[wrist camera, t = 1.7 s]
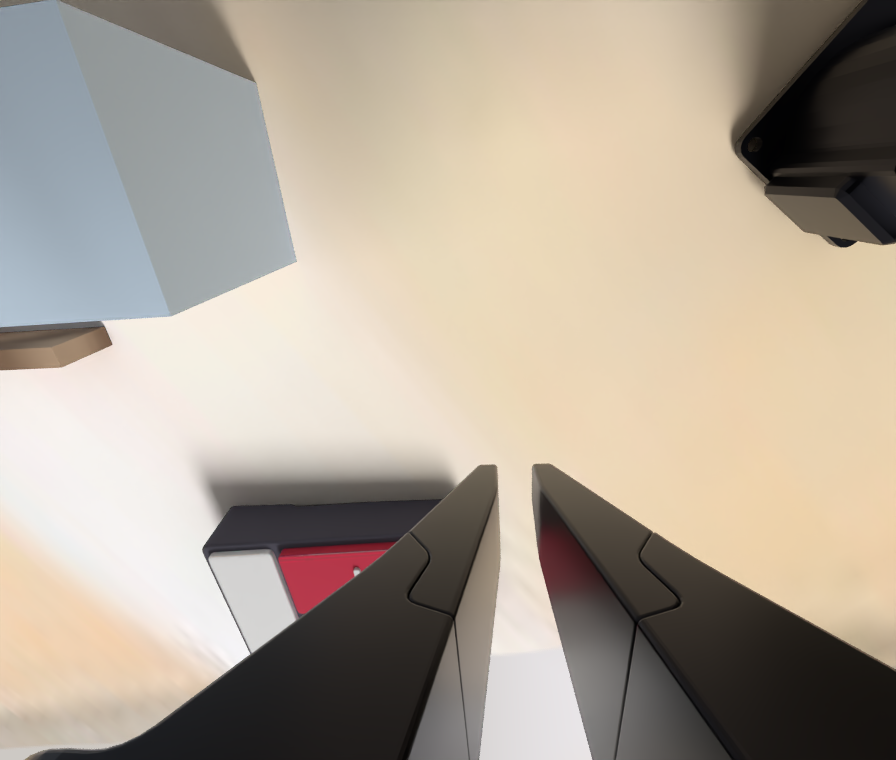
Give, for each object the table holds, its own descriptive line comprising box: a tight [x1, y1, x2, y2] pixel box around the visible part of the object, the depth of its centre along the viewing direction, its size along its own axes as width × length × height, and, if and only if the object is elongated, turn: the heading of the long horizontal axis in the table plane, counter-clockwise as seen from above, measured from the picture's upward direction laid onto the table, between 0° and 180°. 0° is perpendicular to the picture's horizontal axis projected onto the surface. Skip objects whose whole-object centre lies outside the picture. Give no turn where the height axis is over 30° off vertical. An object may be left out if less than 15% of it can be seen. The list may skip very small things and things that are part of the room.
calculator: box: [202, 499, 443, 654], centre depth 27 cm, size 11×4×15 cm
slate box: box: [0, 0, 297, 327], centre depth 16 cm, size 16×7×9 cm, turn 95°
